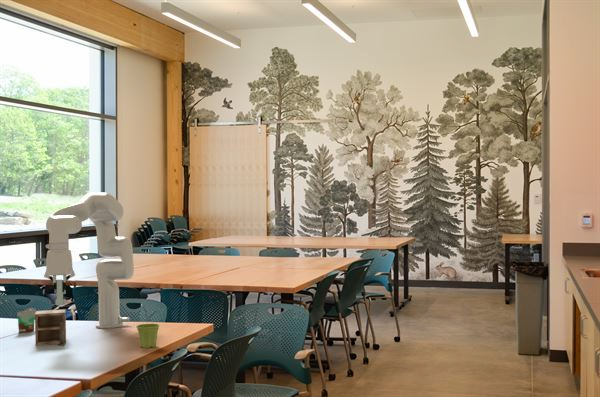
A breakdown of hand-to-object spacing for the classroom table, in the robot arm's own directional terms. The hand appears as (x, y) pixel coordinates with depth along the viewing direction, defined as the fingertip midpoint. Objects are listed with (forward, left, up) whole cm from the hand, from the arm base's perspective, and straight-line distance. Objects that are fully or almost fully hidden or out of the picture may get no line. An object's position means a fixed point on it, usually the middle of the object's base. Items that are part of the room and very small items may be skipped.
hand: (60, 291), depth 316 cm
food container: (+16, -47, -23) cm, 54 cm away
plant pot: (-34, +9, -23) cm, 43 cm away
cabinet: (+5, -12, -23) cm, 27 cm away
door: (0, -1, -6) cm, 6 cm away
